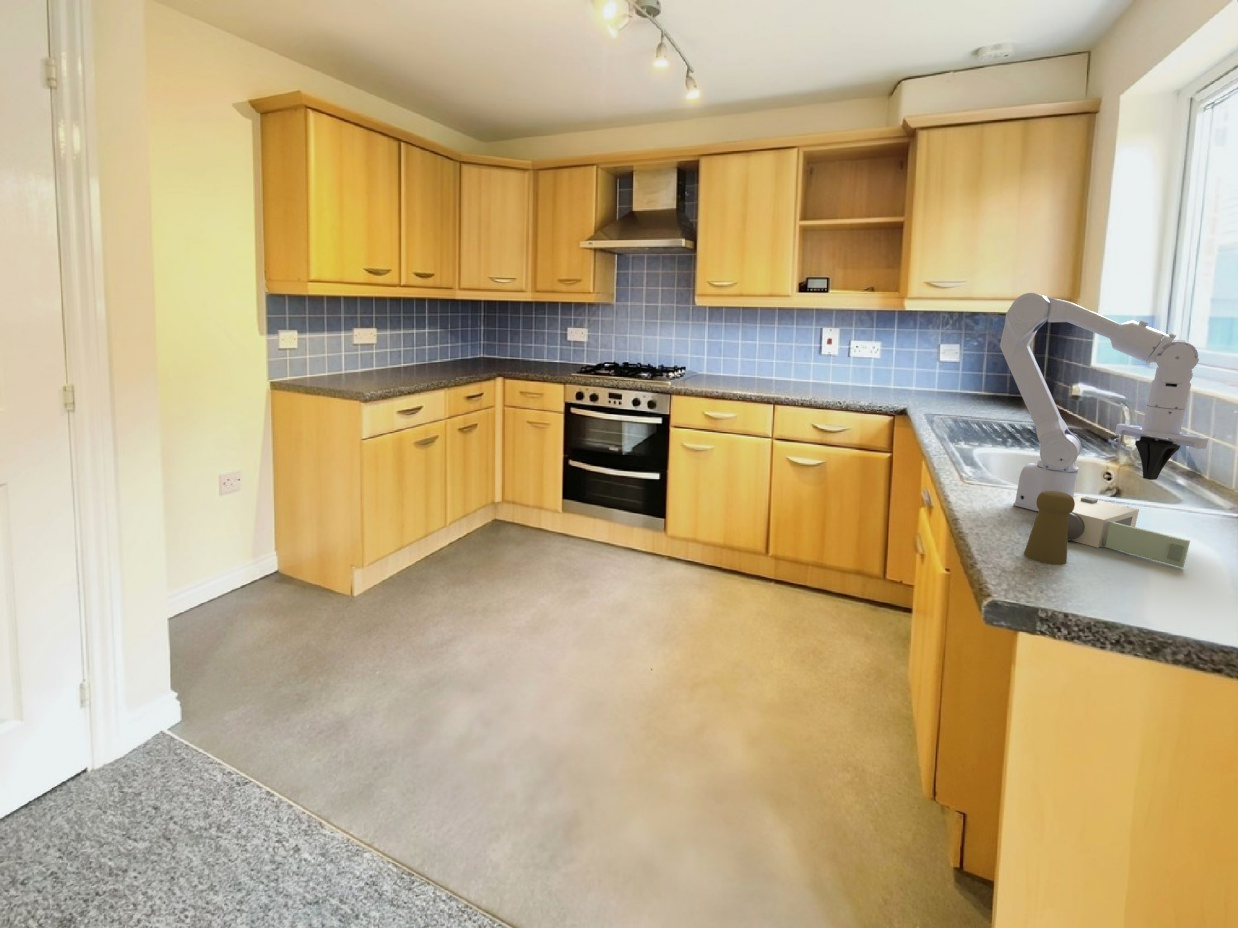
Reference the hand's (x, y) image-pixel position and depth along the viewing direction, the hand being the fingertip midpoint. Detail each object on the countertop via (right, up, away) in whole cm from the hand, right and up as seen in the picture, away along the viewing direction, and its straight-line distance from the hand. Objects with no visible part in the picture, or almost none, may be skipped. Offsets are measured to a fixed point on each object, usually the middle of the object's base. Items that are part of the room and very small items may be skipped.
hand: (1149, 478), depth 131 cm
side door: (-14, -12, -16) cm, 24 cm away
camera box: (-15, -10, -4) cm, 18 cm away
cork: (-30, -13, -17) cm, 37 cm away
